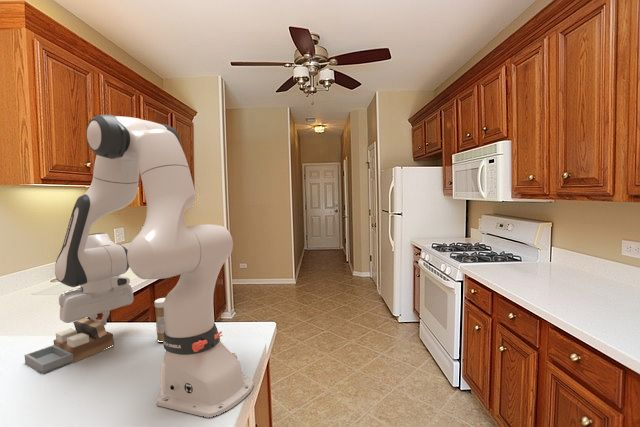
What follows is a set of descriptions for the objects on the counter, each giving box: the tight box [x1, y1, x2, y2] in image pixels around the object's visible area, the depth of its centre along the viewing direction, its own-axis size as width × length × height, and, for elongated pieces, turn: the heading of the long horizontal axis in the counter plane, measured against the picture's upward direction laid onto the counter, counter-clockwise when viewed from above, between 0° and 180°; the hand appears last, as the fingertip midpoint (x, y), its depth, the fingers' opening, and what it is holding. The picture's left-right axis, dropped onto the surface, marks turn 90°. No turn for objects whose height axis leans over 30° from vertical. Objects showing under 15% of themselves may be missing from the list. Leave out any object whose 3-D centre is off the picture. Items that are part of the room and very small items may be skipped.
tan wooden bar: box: [73, 317, 107, 340], centre depth 103 cm, size 12×3×4 cm, turn 60°
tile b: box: [55, 328, 77, 342], centre depth 101 cm, size 4×4×2 cm
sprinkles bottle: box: [153, 297, 166, 341], centre depth 106 cm, size 5×5×13 cm
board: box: [53, 330, 115, 363], centre depth 102 cm, size 12×11×4 cm
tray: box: [24, 344, 75, 375], centre depth 94 cm, size 12×7×2 cm, turn 59°
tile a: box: [67, 333, 89, 347], centre depth 97 cm, size 4×4×2 cm
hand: (100, 326), depth 106 cm, fingers closed
